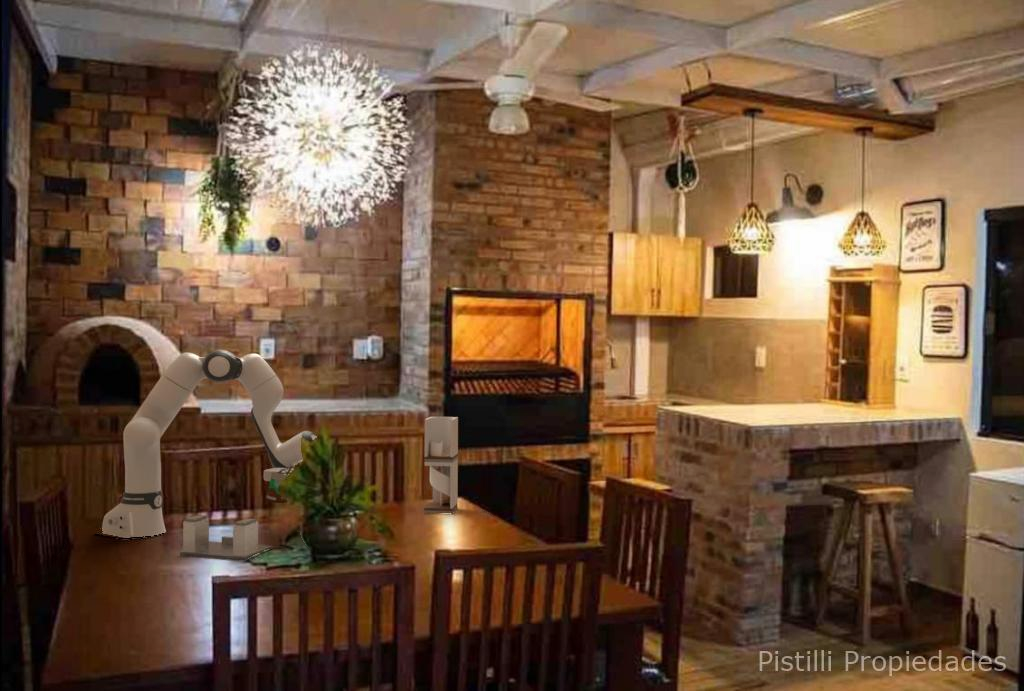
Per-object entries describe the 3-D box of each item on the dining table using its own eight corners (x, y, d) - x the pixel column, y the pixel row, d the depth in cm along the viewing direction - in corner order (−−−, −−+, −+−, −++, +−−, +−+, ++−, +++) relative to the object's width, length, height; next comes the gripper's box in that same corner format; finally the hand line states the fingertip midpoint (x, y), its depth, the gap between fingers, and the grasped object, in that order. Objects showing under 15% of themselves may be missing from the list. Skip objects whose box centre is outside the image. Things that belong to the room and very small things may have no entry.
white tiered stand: (430, 507, 351) (430, 416, 350) (457, 508, 350) (457, 417, 349) (424, 513, 340) (424, 419, 339) (452, 514, 338) (453, 419, 338)
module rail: (180, 555, 273) (180, 519, 273) (209, 544, 287) (209, 510, 287) (245, 561, 267) (245, 524, 267) (272, 549, 281) (272, 514, 281)
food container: (280, 508, 285) (289, 479, 283) (263, 500, 286) (272, 471, 284) (298, 499, 297) (307, 471, 295) (282, 491, 298) (291, 463, 296)
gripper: (275, 462, 309) (253, 468, 296) (330, 465, 304) (310, 471, 290) (275, 480, 309) (253, 487, 296) (330, 484, 304) (310, 491, 290)
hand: (282, 479), depth 293 cm, fingers closed on food container
